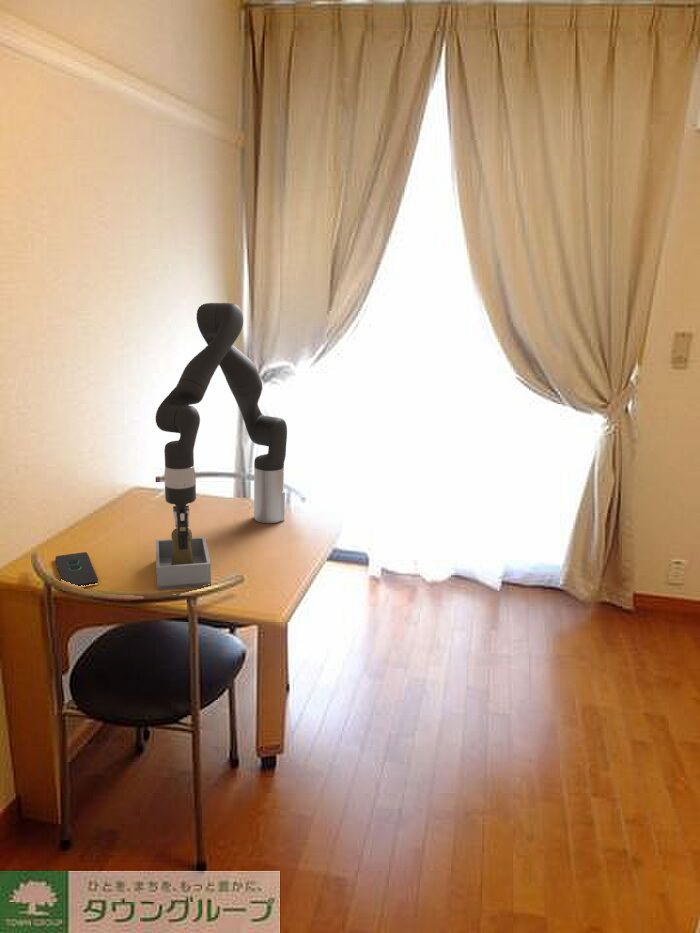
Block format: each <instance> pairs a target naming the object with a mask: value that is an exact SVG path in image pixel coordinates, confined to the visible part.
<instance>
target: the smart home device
mask: <svg viewBox="0 0 700 933" xmlns="http://www.w3.org/2000/svg"><path fill="white" fill-rule="evenodd" d="M56 562H57V564H56V567H57V566H58V568H57V571H58V570H59V571H58V574H59V573H60V575H59V577H60V576H61V578H60V580H61V579H62V580H64V581H66V582H70V583H71V584H75V585H78V586H81V585H83V586H84V585H85V586H86V585H89V584H95V583H98V584H99V579H98V576H97V574H96V571H95V569H94V567H93V564H92V561H91V559H90V557H89V554H88V552H86V551H84V552H83V551H82V552H76V553H69V554H62V555H56V556H55V563H56Z"/></svg>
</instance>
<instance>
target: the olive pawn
mask: <svg viewBox="0 0 700 933" xmlns="http://www.w3.org/2000/svg"><path fill="white" fill-rule="evenodd" d="M180 531H185V527H180ZM188 532H189V534H188V536H187V543H188V548H187V549H185V550H180V549H179V546H178V535H177V533H178V531H177V528H176V527H175V528H173V530H172V531H171V539H172V540H173V541H174V545H173V554H172V563H171V565H182V564H194V562H193V556H192V550H191V544H190V540H191V539H192V538H193V533H192V530H191V529H190V527H188Z"/></svg>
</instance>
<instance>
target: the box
mask: <svg viewBox="0 0 700 933" xmlns="http://www.w3.org/2000/svg"><path fill="white" fill-rule="evenodd" d="M190 544H191V550H192V556H193V562H194V564H182V565H171V563H172V554H173V545H174V541H173V540H172V538H169V539H167V538H166V539H156V540H155V565H156V566H155V568H156V569H155V570H156V590H157V591H161V590H162V591H165V590H174V589H175V590H176V589H186V588H201V587H204V586H203V585H208V584H211V585H212V573H211V572H212V571H211V570H212V568H211V565H212V564H211V560H210V554H209V549H208V545H207V540H206V536H201V537H192V539H191V540H190ZM200 586H201V587H200Z"/></svg>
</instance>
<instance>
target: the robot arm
mask: <svg viewBox="0 0 700 933" xmlns="http://www.w3.org/2000/svg"><path fill="white" fill-rule="evenodd" d="M196 323H197V326H198V330H199V332H200V334H201V336H202V338H203V339H204V341H205V343H206V346H205V347H204V348H203V349H202V350H200V352H198V353H197V354H196V355H195V356H194V357H193V358H192V359H191V360H190V361H189V362H188V363H187V364H186V366H185V367H184V369H183V371H182V373H181V375H180V378H179V380H178V381H177V384H176V386H175V387H174V388H173V389H172V391H171V392H169V393H168V395H167V396H166V397H165V398H164V400H163V401H162V402H161V403H160V404H159V406H158V407H157V410H156V413H155V424H156V427H158V429H159V430H160V431H163V432H168V433H174V434H175V433H176V434H179V440H172V441H169V442H167V443H166V444H165V445H164V452H163V453H164V499H165V502H166V503H168V504H170V505H173V506H172V512H173V519H174V527H175V529H176V528H177V531H178V533H177V535H178V546H179V549H180V550H185V549H187V548H188V543H187V536H188V534H189V532H188V528H189V526H190V508H189V504H192V503H194V502H195V501H196V499H197V493H196V492H197V490H196V489H197V488H196V486H197V484H196V471H195V461H194V460H195V459H194V458H195V455H194V450H195V444H196V440H197V434H198V432H199V428H200V423H201V416H200V413H199V411H198V409H197V408H196V407H195V406H192V405H196V404H199V403H200V402H201V401H202V400H203V398H204V397H205V394H206V391H207V390H208V387H209V385H210V383H211V380H212V378H213V376H214V374H215V372H216V370H217V368H218V367H219V368H220V369H221V371H222V374H223V375H224V378H225V380H226V383H227V385H228V387H229V389H230V391H231V393H232V395H233V397H234V399H235V402H236V405H237V406H238V409H239V411H240V413H241V416H242V419H243V422H244V425H245V429H246V431H247V435H248V437H249V439H250V441H252V443H253V444H255V445H259V446H264V447H268V448H267V449H268V450H267V453H265V454H261V455H258V456H256V457H255V458H254V461H253V462H254V463H253V464H254V465H253V467H254V468H253V469H254V471H253V473H254V476H253V480H254V481H253V482H254V483H253V485H254V487H253V490H254V492H253V493H254V494H253V497H254V498H253V505H254V506H253V508H254V509H253V510H254V511H253V514H254V516H253V519H254V521H256V522H258V523H261V524H262V523H263V524H275V523H280V522H284V521H285V515H286V514H285V513H286V510H285V508H286V507H285V506H286V502H285V501H286V492H285V490H284V489H285V488H284V486H285V485H284V480H285V479H284V478H285V477H284V476H285V474H284V473H285V472H284V471H285V460H286V456H287V441H288V427H287V423H286V421H285V419H283V418H280V417H276V416H270V415H269V416H268V415H264V414H263V413H262V411H261V409H260V406H259V401H260V398H261V395H262V391H263V381H262V379H261V376H260V374H259V371H258V369H257V367H256V365H255V364H254V362H253V361H252V360H251V359H250V358H249V357H248V356H247V355H245V354H244V353H243V352H242V351H241V350H239V349H238V348H237V347H236V346H235V345H234V344H235V342H236V341H237V339H238V338H239V336H240V335H241V333H242V329H243V326H244V314H243V311H242V310H241V308H240V306H239V305H238V304H235V303H229V302H207V303H203V304H201V305H200V306H199V307H198V308H197V310H196ZM180 527H185V531H180Z"/></svg>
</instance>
